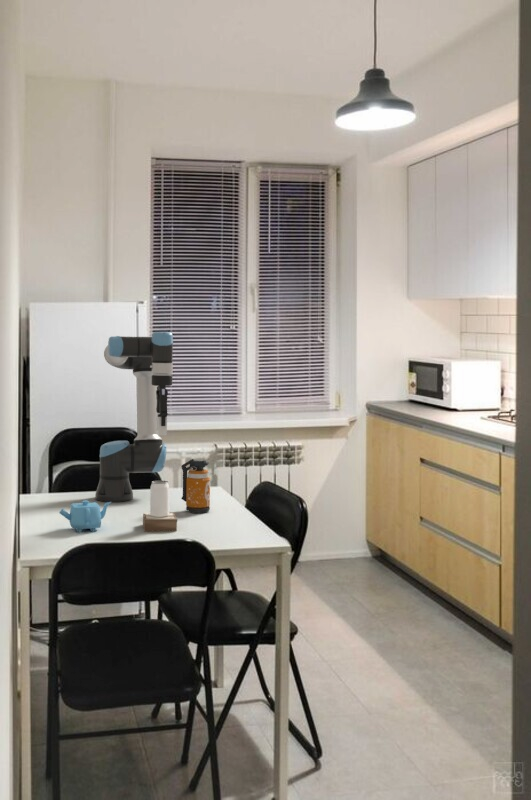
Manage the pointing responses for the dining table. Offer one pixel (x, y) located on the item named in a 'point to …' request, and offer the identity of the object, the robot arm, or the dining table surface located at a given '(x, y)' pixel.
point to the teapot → (85, 515)
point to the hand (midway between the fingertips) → (161, 432)
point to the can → (159, 499)
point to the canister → (196, 486)
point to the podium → (159, 523)
